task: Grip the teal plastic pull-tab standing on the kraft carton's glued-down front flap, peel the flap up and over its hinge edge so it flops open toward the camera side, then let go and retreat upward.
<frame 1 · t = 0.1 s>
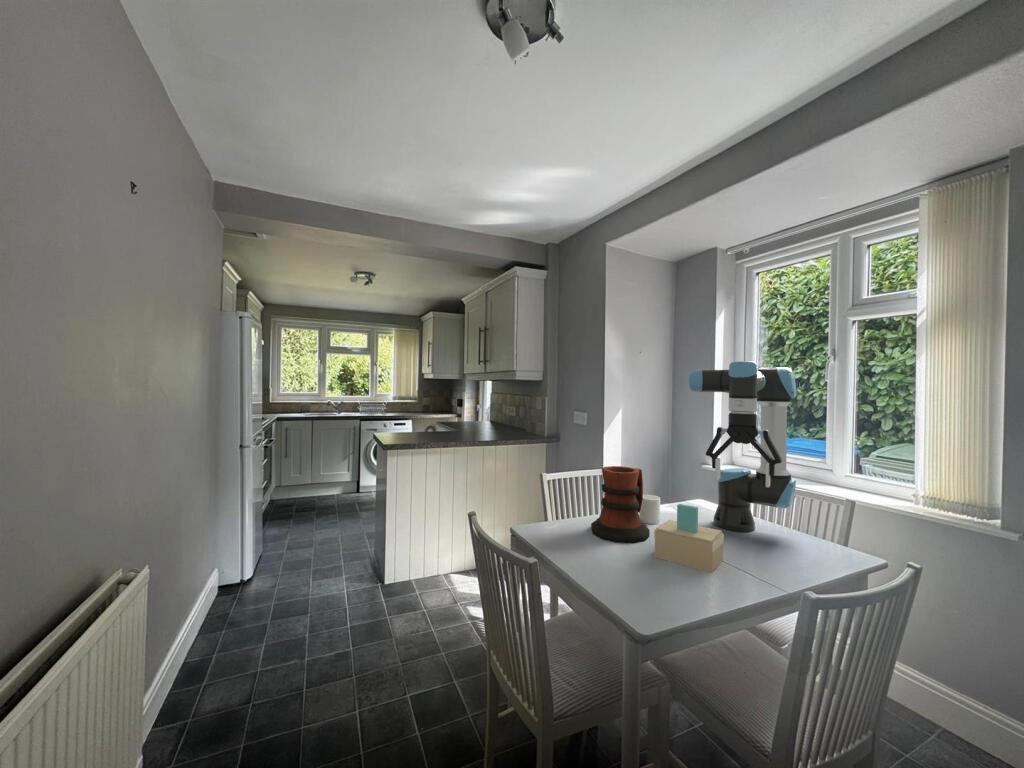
hand: (742, 483, 128), 28 cm above the table, fingers open, 13 cm apart
cup: (646, 520, 180), on the table
carton: (688, 558, 140), on the table
tankard: (622, 532, 165), on the table
flap: (685, 520, 137), point 13 cm above the table, hinge at -0.1°
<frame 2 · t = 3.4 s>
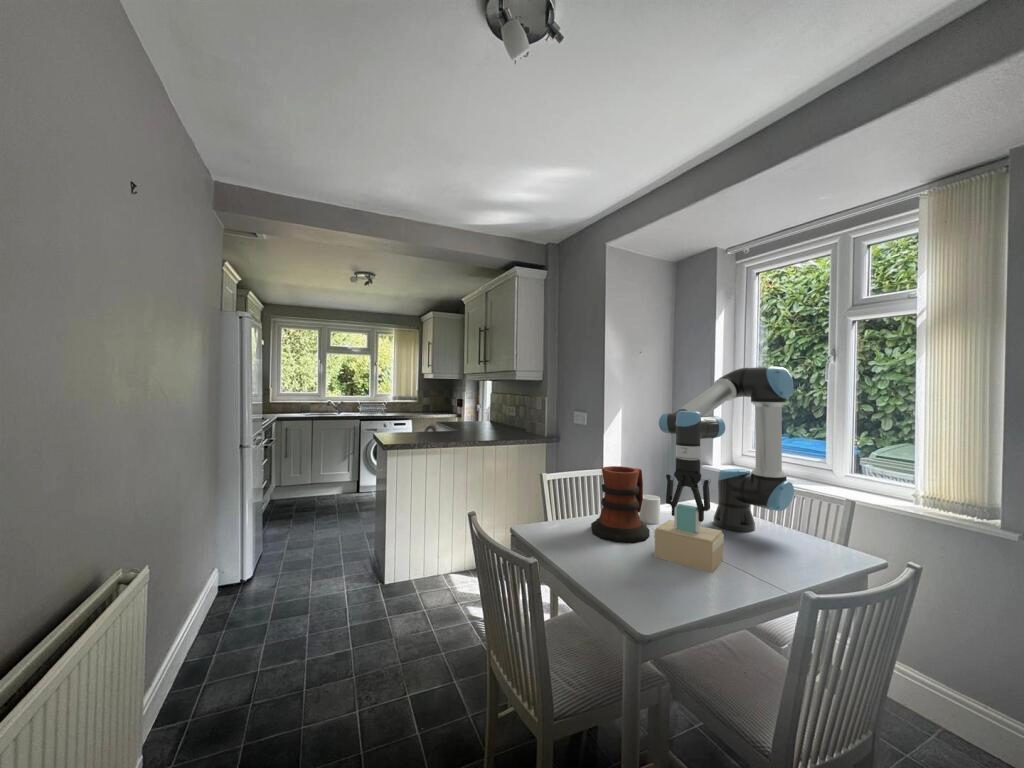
hand: (687, 528, 139), 10 cm above the table, fingers closed on flap, 6 cm apart
flap: (685, 520, 137), point 13 cm above the table, hinge at -0.1°, touching gripper
everything else where it was.
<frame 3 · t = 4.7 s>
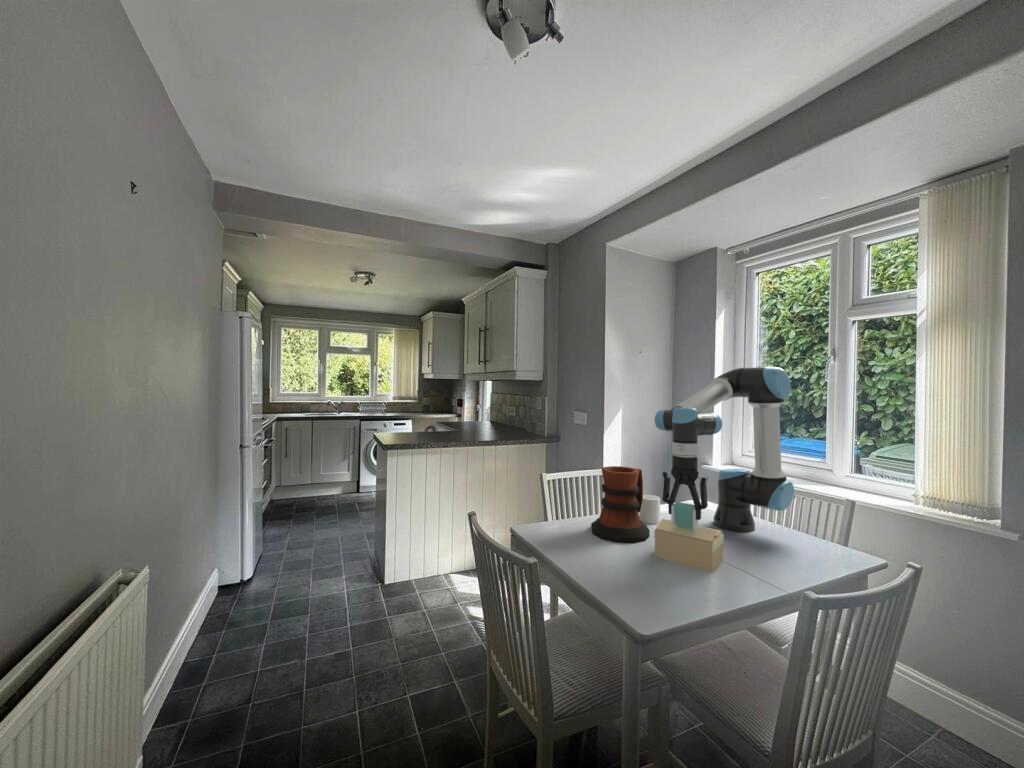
hand: (684, 526, 136), 12 cm above the table, fingers closed on flap, 6 cm apart
flap: (684, 519, 136), point 14 cm above the table, hinge at 18.0°, touching gripper
everything else where it was.
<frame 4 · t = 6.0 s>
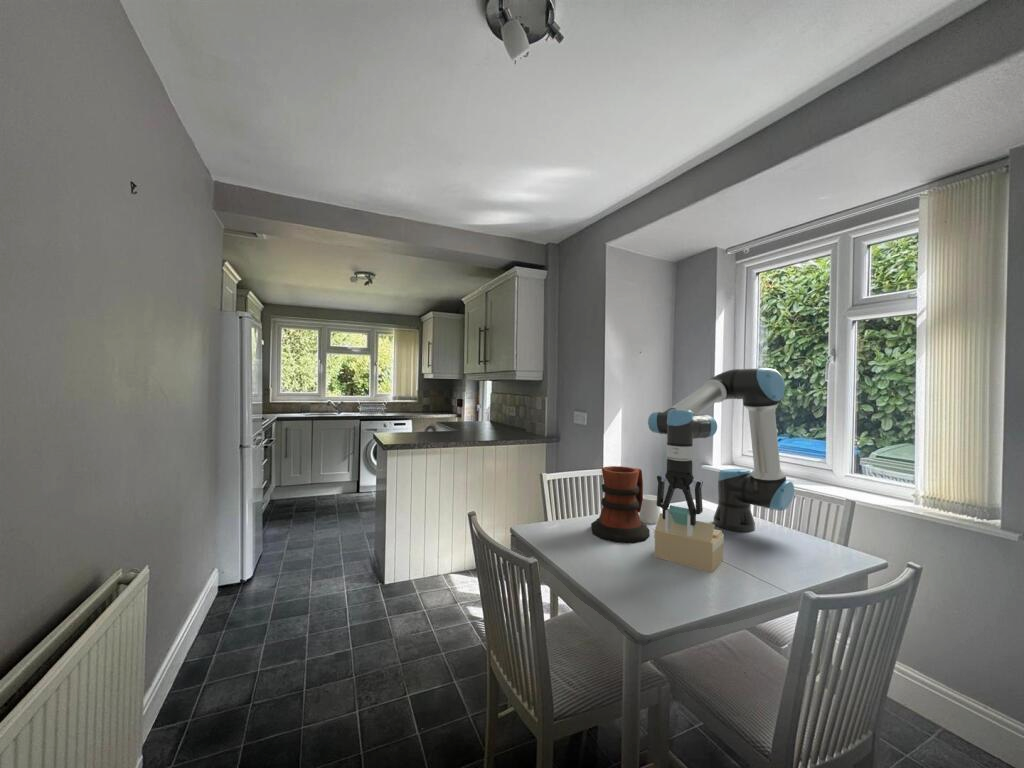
hand: (678, 532, 132), 11 cm above the table, fingers closed on flap, 6 cm apart
flap: (681, 521, 134), point 14 cm above the table, hinge at 48.4°, touching gripper
everything else where it was.
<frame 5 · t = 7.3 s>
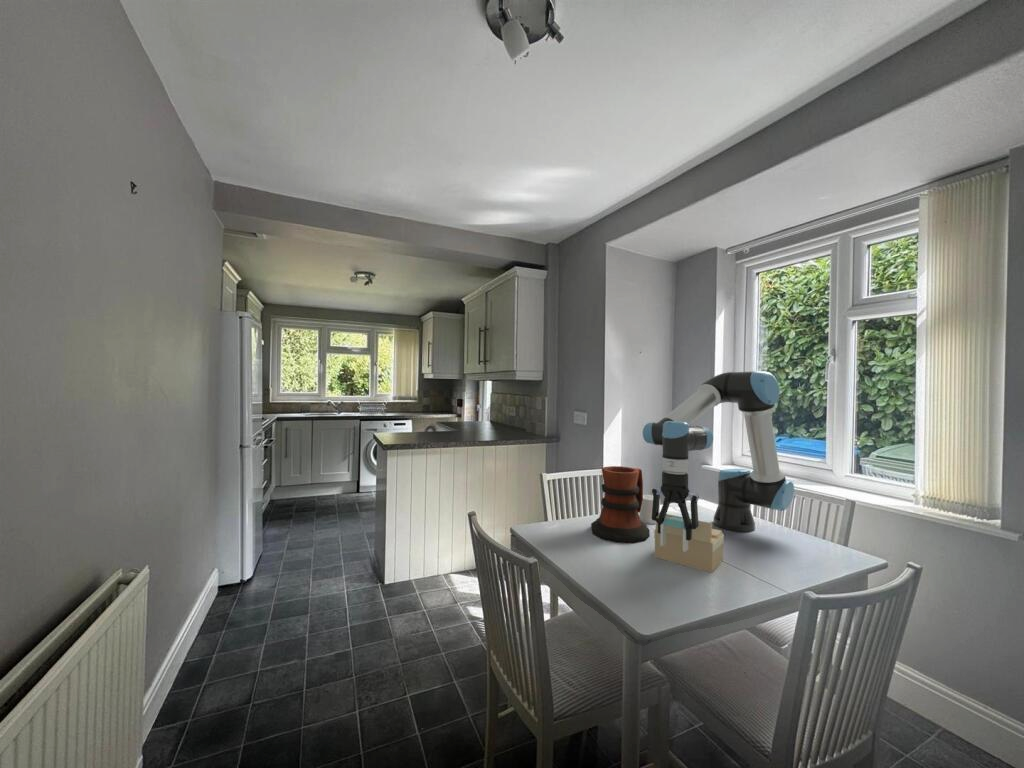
hand: (674, 547, 129), 8 cm above the table, fingers closed on flap, 6 cm apart
flap: (678, 527, 132), point 13 cm above the table, hinge at 80.1°, touching gripper
everything else where it was.
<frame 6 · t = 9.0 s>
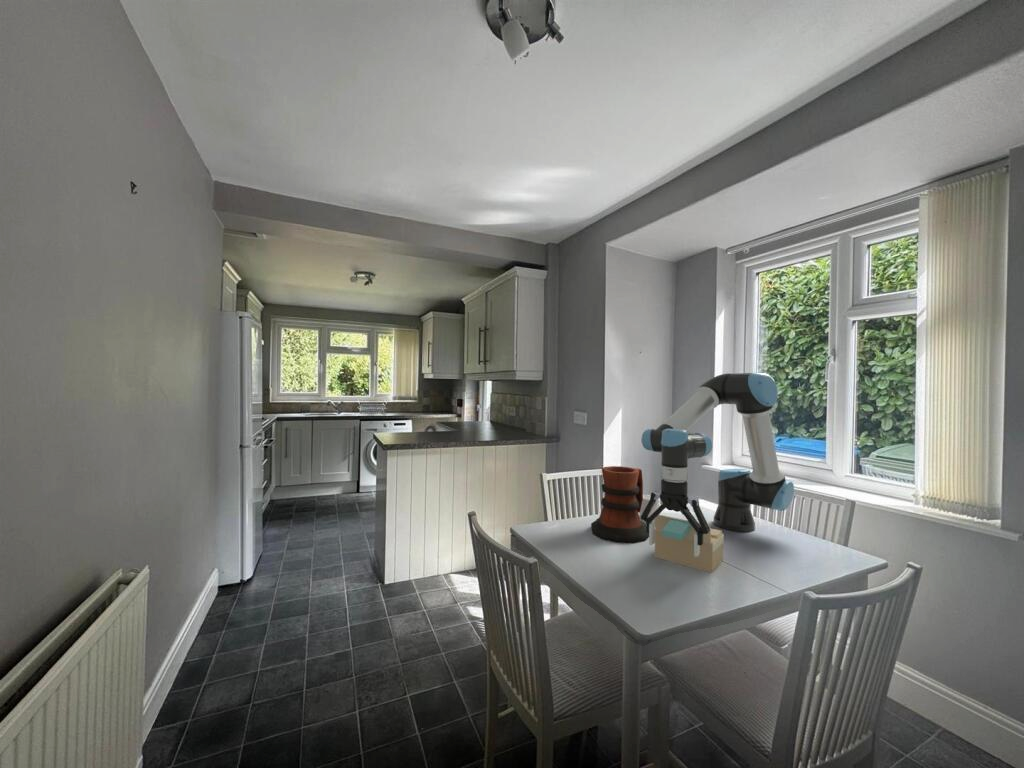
hand: (673, 549, 129), 7 cm above the table, fingers open, 13 cm apart
flap: (677, 533, 131), point 11 cm above the table, hinge at 100.7°
everything else where it was.
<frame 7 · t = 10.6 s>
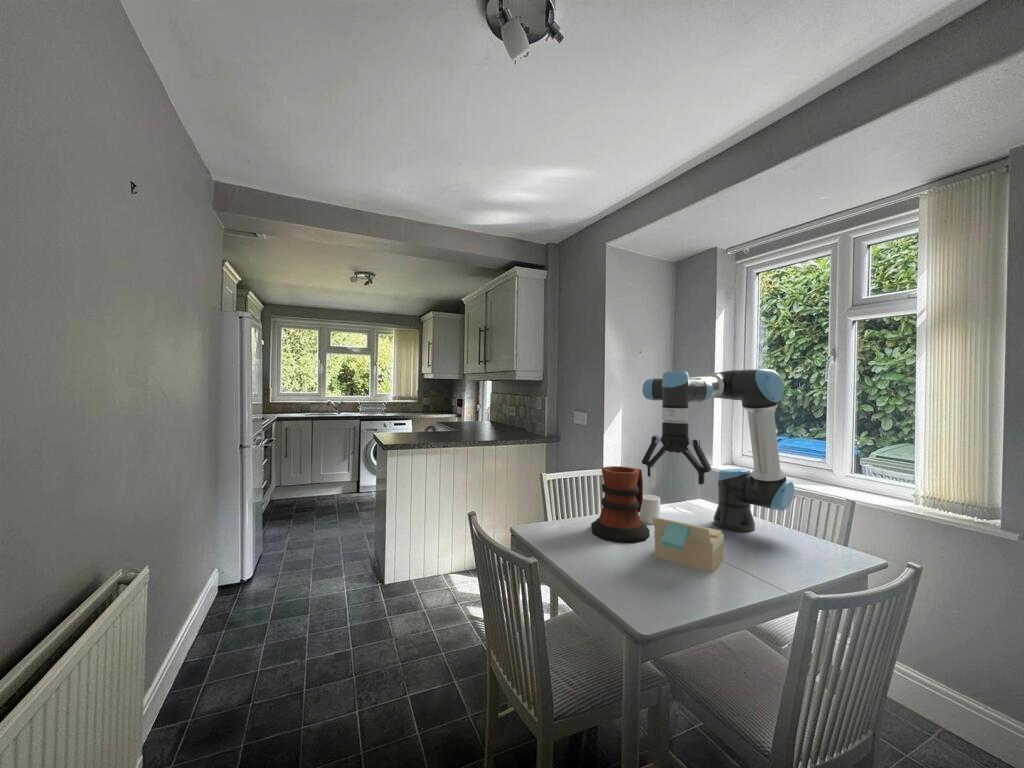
hand: (674, 491, 129), 25 cm above the table, fingers open, 13 cm apart
flap: (676, 539, 131), point 10 cm above the table, hinge at 118.4°
everything else where it was.
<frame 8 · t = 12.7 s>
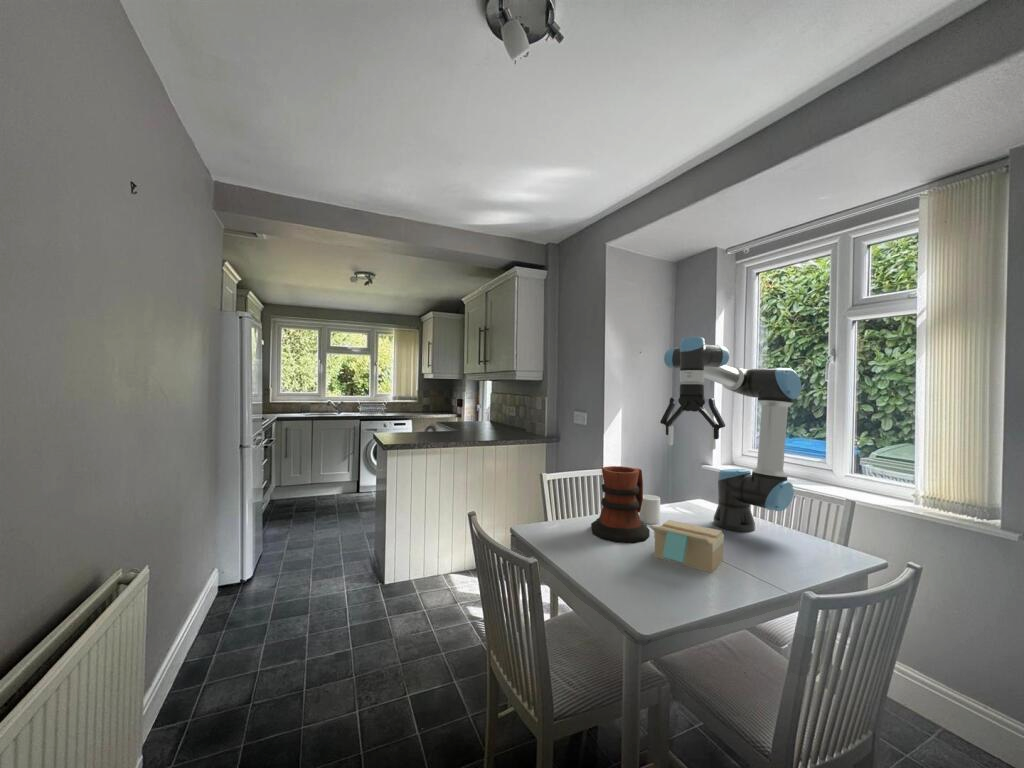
hand: (691, 447, 141), 37 cm above the table, fingers open, 13 cm apart
flap: (677, 547, 131), point 7 cm above the table, hinge at 148.6°
everything else where it was.
at the end: flap at +152° (first picture: +0°); the gripper is holding nothing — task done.
